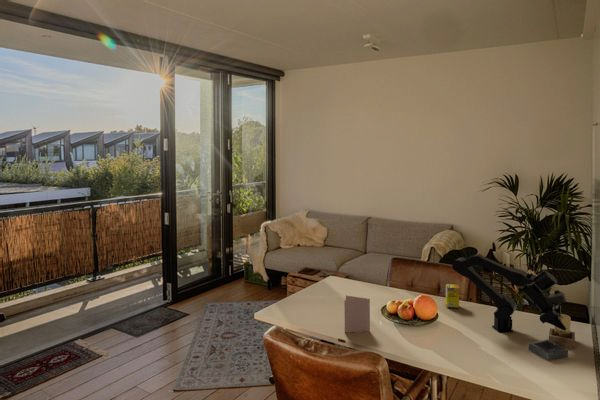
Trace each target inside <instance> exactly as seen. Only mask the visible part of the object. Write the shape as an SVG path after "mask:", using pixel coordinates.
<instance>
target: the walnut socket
mask: <svg viewBox="0 0 600 400" xmlns="http://www.w3.org/2000/svg"><path fill="white" fill-rule="evenodd" d="M575 335H576V333H575V331H571V330H570V338H564V337H559V336H554V327H553V328H552V327H549V331H548V340H550V341H552V342H554V343H556V344H558V345H560V346H562V347H564V348H567V349H568V348H570V349H575V345H576V344H575V343H576V336H575Z"/></svg>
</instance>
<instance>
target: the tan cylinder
mask: <svg viewBox="0 0 600 400" xmlns="http://www.w3.org/2000/svg"><path fill="white" fill-rule="evenodd" d="M558 317H559V319H560V320H561V322H562V323H563V324H564V326H565V327H566V330H562V329H560V328H558V327H556V326H554V327H553V329H554V336H559V337H564V338H570V331H571V320H572V319H571V318H572V317H571V316H569V315H568V314H565V313H564V314H563V313H562V314H558Z"/></svg>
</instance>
